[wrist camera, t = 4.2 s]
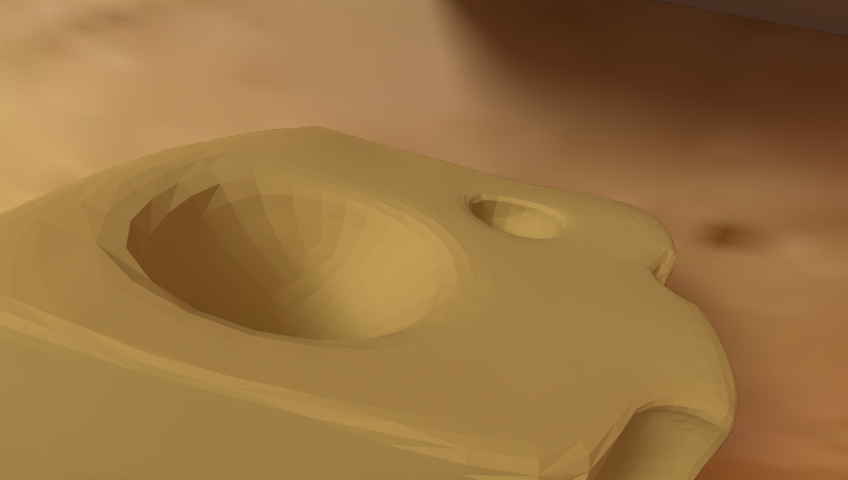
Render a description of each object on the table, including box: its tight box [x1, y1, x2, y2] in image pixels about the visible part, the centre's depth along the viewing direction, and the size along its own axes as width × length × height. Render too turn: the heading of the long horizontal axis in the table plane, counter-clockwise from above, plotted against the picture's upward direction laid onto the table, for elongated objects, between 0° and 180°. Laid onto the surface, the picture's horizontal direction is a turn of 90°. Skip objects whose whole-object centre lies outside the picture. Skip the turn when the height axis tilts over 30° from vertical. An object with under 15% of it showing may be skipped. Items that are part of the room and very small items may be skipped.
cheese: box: [0, 126, 738, 480], centre depth 11 cm, size 10×11×10 cm
